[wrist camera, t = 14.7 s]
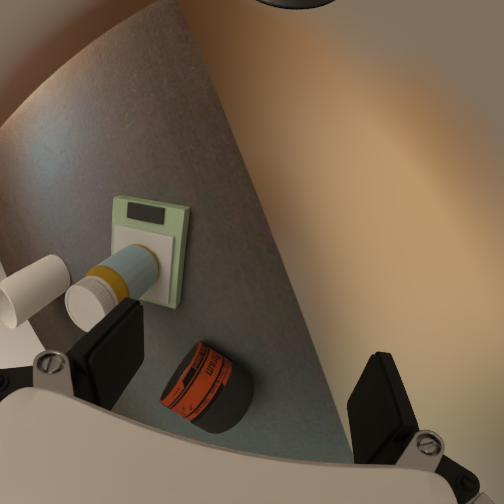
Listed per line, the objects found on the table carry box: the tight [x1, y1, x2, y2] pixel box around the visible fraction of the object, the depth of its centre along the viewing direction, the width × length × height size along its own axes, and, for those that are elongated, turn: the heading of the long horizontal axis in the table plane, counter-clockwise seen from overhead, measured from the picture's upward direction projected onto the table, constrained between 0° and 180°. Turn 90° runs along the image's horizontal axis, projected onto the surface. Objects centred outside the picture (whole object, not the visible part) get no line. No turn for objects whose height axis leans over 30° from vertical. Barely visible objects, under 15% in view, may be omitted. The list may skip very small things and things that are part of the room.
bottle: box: [65, 244, 159, 332], centre depth 36 cm, size 7×7×15 cm
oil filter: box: [160, 342, 254, 434], centre depth 45 cm, size 13×12×13 cm
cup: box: [0, 255, 70, 329], centre depth 43 cm, size 8×8×16 cm
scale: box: [111, 195, 190, 309], centre depth 44 cm, size 16×12×3 cm
